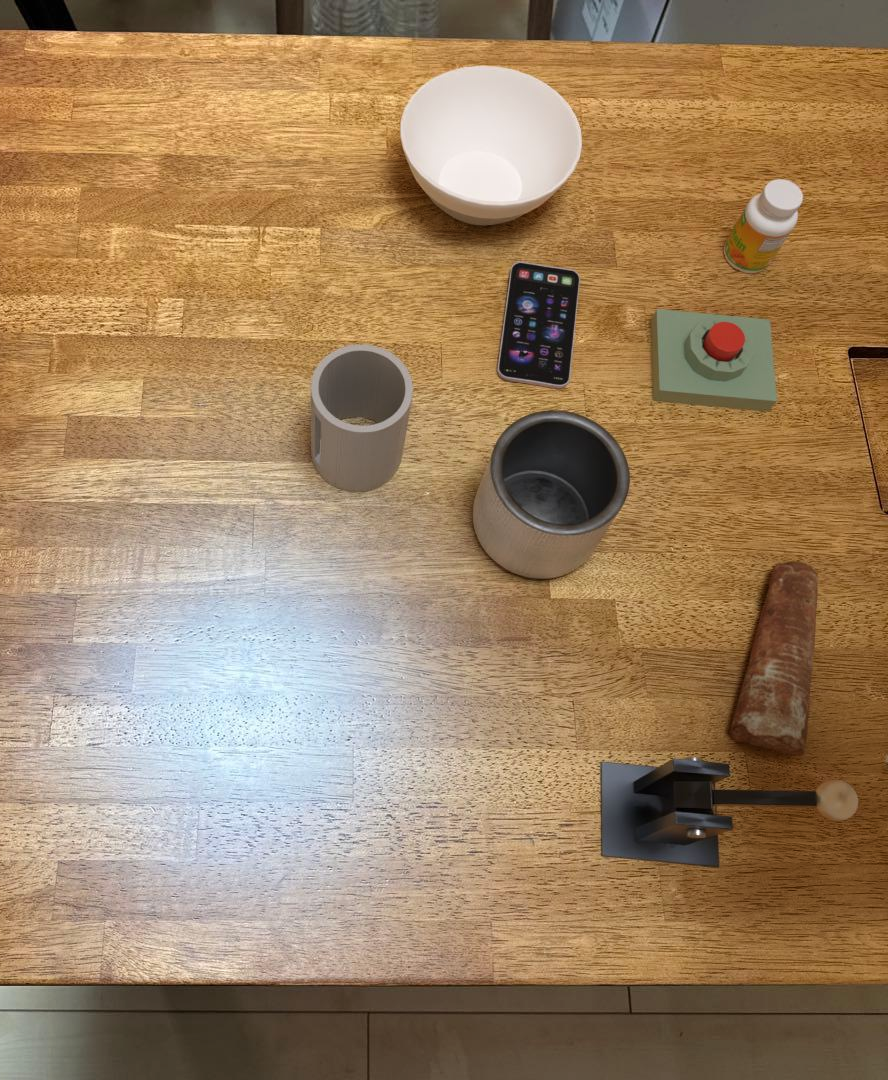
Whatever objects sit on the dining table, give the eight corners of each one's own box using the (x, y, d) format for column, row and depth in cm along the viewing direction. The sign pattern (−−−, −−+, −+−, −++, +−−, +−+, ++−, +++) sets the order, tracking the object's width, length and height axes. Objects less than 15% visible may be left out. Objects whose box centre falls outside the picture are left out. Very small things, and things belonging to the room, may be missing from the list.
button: (737, 333, 105) (744, 323, 103) (739, 362, 103) (746, 353, 102) (702, 329, 105) (708, 319, 103) (704, 359, 103) (710, 349, 102)
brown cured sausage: (717, 744, 91) (741, 730, 86) (763, 562, 99) (787, 539, 94) (786, 770, 91) (814, 758, 86) (827, 585, 98) (855, 563, 93)
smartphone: (580, 270, 111) (569, 387, 105) (579, 274, 111) (567, 390, 105) (512, 260, 111) (496, 376, 105) (511, 263, 111) (495, 379, 106)
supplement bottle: (715, 238, 114) (750, 176, 105) (761, 232, 114) (799, 170, 105) (731, 278, 112) (767, 217, 103) (777, 271, 112) (817, 211, 103)
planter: (504, 600, 96) (527, 556, 86) (450, 489, 101) (465, 434, 90) (621, 556, 98) (657, 507, 88) (563, 448, 103) (591, 390, 93)
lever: (855, 783, 77) (856, 775, 75) (859, 824, 76) (860, 817, 73) (677, 781, 82) (672, 773, 80) (679, 819, 81) (674, 813, 78)
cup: (419, 440, 103) (431, 376, 92) (370, 508, 100) (377, 450, 88) (344, 396, 104) (347, 328, 93) (293, 461, 101) (291, 398, 90)
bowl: (518, 284, 110) (533, 234, 103) (362, 210, 114) (366, 155, 106) (592, 166, 117) (612, 110, 110) (444, 99, 121) (452, 40, 113)
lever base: (709, 774, 90) (764, 747, 80) (714, 868, 87) (771, 853, 76) (597, 763, 90) (636, 735, 80) (598, 857, 87) (639, 841, 76)
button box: (761, 331, 109) (777, 308, 105) (768, 412, 105) (785, 391, 102) (650, 320, 109) (662, 298, 106) (652, 401, 105) (665, 380, 102)
